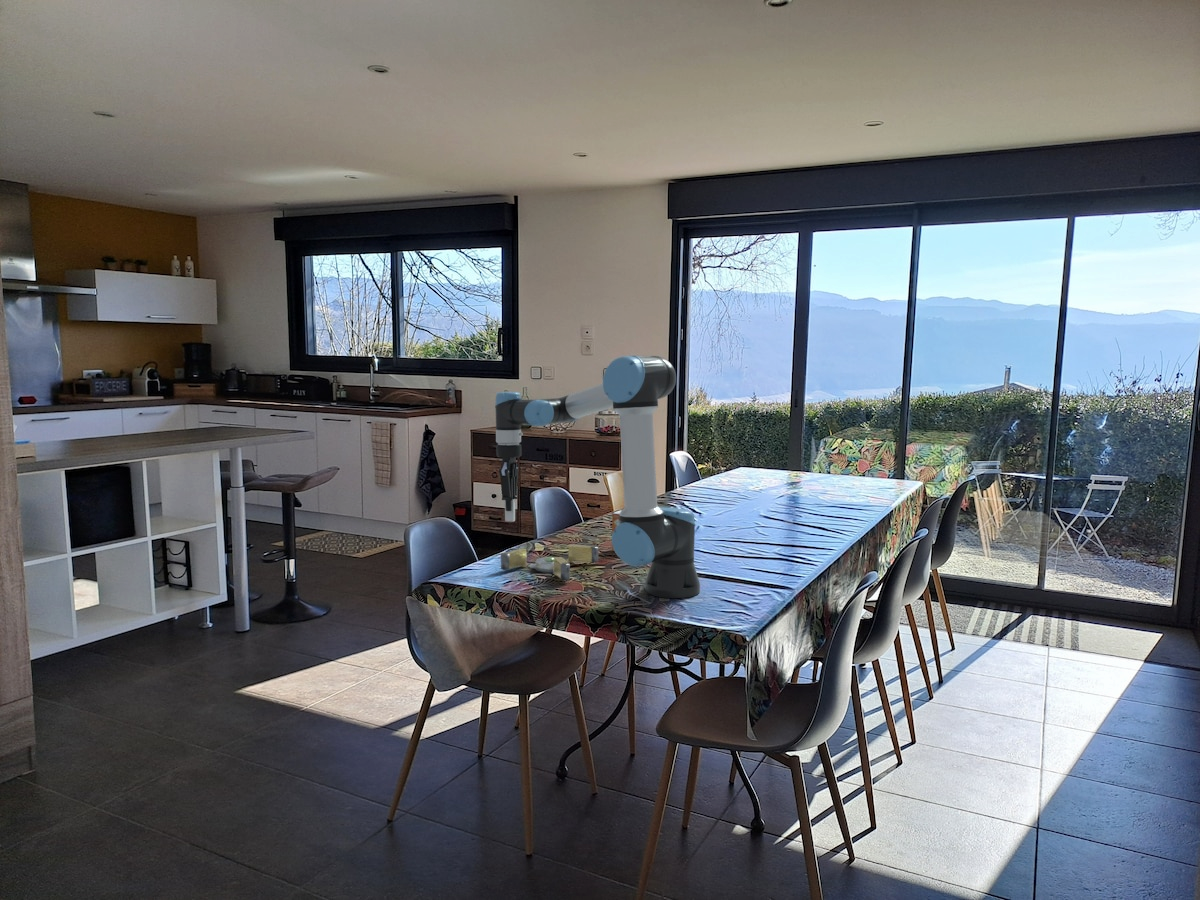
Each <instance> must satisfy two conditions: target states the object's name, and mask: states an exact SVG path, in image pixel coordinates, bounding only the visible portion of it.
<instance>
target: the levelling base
mask: <svg viewBox="0 0 1200 900" xmlns="http://www.w3.org/2000/svg"><path fill="white" fill-rule="evenodd" d="M554 557H555V556H545V557H539V558H537V559H536V560H535V563H530V564H529V569H535V571H538V572H540V573H548V574H551V573H552V574H553V575H554Z"/></svg>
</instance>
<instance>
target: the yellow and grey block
mask: <svg viewBox="0 0 1200 900" xmlns="http://www.w3.org/2000/svg"><path fill="white" fill-rule="evenodd" d="M527 562H528V561H527V549H526V548H516V549H513V550H511V551H506V552H501V553H500V569H501V570H503V571H504V570H505V571H507V570H511V569H515V568H517V567H520V568H527V567H528V563H527Z"/></svg>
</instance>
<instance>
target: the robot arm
mask: <svg viewBox="0 0 1200 900" xmlns="http://www.w3.org/2000/svg"><path fill="white" fill-rule="evenodd" d="M676 373H677V372H676V370H675V368H674V366H673V364H672V363H671V362H670V361H668V360H667V359H666V358H664V357H661V356H658V355H649V356H648V355H626V356H625V355H624V356H619V357H617V358H615V359H613V360H611V362H610V363H609V365H607V367H606V369H604V374H603V378H602V383H600V384H596V385H595V386H591V387H589V388H588V387H587V388H585V389H581V390H580V391H576V392H574V393H573V392H572V393H570V394H568V395H564V396H562V397H557V398H555V397H554V398H540V399H538V398H536V399H522V397H521V396H522V395H521V393H520V392H517V391H505V392H504V391H503V392H502V391H501V392H500V391H499V392H497V393H496V394H495V404H494V409H495V442H496V445H495V446H496V447H495V448H496V449H495V452H496V457H497V458H501V459H502V460H501V464H500V468H499V469H498V472H499V473H498V474H499V477H500V478H499V479H500V487H501V501H504V521H505V522H510V523H511V522H513V523H514V522H515V521H516V500H518V498H519V497H518V484H519V483H518V481H519V480H518V479H519V477H518V476H519V468H520V464H519V463H518V462H517V459H516V458H520V457H521V456H522V451H523V450H522V444H520V443H521V442H522V436H523V435H524V434H523V432H522V425H523V426H532V427H533V426H534V427H545V426H547V425H552V424H563V423H564V424H567V423H573V422H576V421H578V420H579V419H581V418H584V417H585V416H586V417H587V416H589V415H593V414H596V413H600V412H603V411H606V410H610V409H613V411H614V412H616V414H618V417H619V428H620V430H619V431H620V446H621V447H620V448H621V464H622V466H621V468H622V483H623V485H622V486H623V499H624V501H623V503H624V505H623V506H624V507H623V509H621V510H622V511H621V512H620V513H619V518H620V524H619V525H618V526H617V527H616V528H615V530H614V531H613V534H612V533H611V546H612V545H613V548H614V551H613V552H614V553H615V555H616V556H617V558H618V557H619V558H620V560H621V561H622V562H623V563H624V564H626V565H627V566H632V567H639V566H646V565H649V566H650V567H649V570H648V573H647V576H646V578H645V581H644V590H645V592H646V594H649V595H651V596H654V597H659V598H666V599H684V598H685V599H687V598H691V597H694V596H697V595H698V594H700V592H701V583H700V580H699V576H698V573H697V569H696V567H695V531H696V530H695V528H696V523H695V519H696V518H695V514H694V513H693V512H692V511H691V510H689V509H683V508H677V507H675V508H674V507H665V506H659V505H658V492H657V488H658V487H657V474H656V473H657V472H656V455H655V454H656V452H655V436H654V435H655V434H654V416H653V415H654V412H655V411H656V410H657V409H658V408H659V402H658V400H660V399H663V398H665V397H667V396H668V395H670V394H671V393H672V392H673V390H674V388H675V386H676V381H677V374H676ZM650 564H651V565H650Z"/></svg>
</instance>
